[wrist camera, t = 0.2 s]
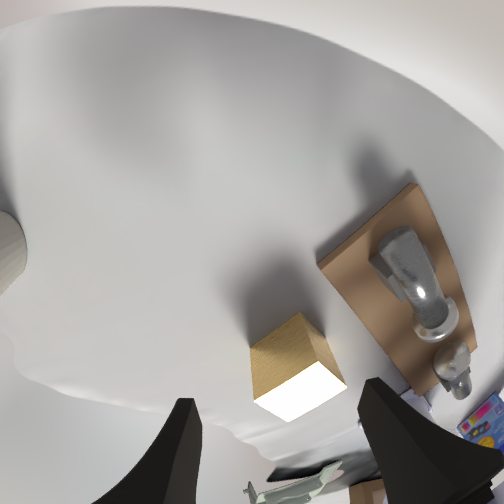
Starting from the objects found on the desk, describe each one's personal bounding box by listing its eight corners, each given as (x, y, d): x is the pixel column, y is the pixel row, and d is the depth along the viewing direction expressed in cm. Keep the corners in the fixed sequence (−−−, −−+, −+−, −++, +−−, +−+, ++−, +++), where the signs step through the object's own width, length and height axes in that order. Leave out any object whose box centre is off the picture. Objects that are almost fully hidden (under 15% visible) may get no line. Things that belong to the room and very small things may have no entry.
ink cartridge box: (495, 389, 30) (532, 440, 16) (498, 396, 31) (531, 442, 17) (455, 427, 32) (486, 482, 18) (460, 431, 33) (489, 480, 20)
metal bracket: (250, 524, 29) (258, 502, 23) (239, 499, 34) (243, 468, 29) (326, 498, 33) (355, 465, 28) (313, 476, 39) (335, 438, 33)
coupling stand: (472, 342, 23) (500, 370, 18) (415, 392, 25) (436, 427, 20) (410, 182, 17) (465, 198, 12) (316, 264, 19) (346, 309, 13)
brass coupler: (299, 311, 20) (318, 361, 15) (325, 338, 21) (346, 387, 16) (249, 347, 21) (254, 401, 16) (278, 370, 22) (288, 421, 17)
